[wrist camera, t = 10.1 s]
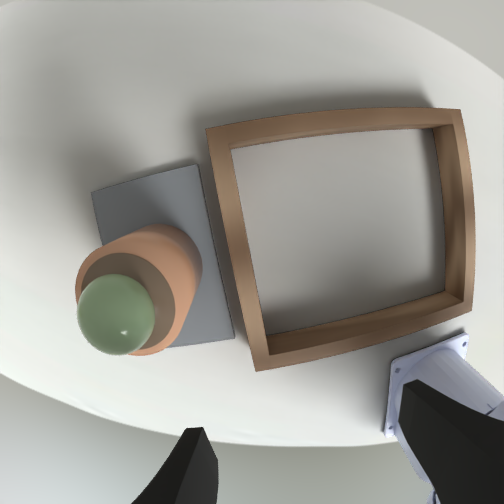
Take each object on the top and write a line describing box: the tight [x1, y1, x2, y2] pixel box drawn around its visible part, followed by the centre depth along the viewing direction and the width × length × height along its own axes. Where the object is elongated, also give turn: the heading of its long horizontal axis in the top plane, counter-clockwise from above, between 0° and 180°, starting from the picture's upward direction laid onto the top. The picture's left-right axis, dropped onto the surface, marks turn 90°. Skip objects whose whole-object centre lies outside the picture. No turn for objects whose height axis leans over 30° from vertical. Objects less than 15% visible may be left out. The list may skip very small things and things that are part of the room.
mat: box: [91, 164, 235, 348], centre depth 18 cm, size 11×7×1 cm, turn 11°
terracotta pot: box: [75, 224, 203, 356], centre depth 13 cm, size 5×5×9 cm
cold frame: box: [205, 107, 475, 372], centre depth 17 cm, size 14×16×2 cm
